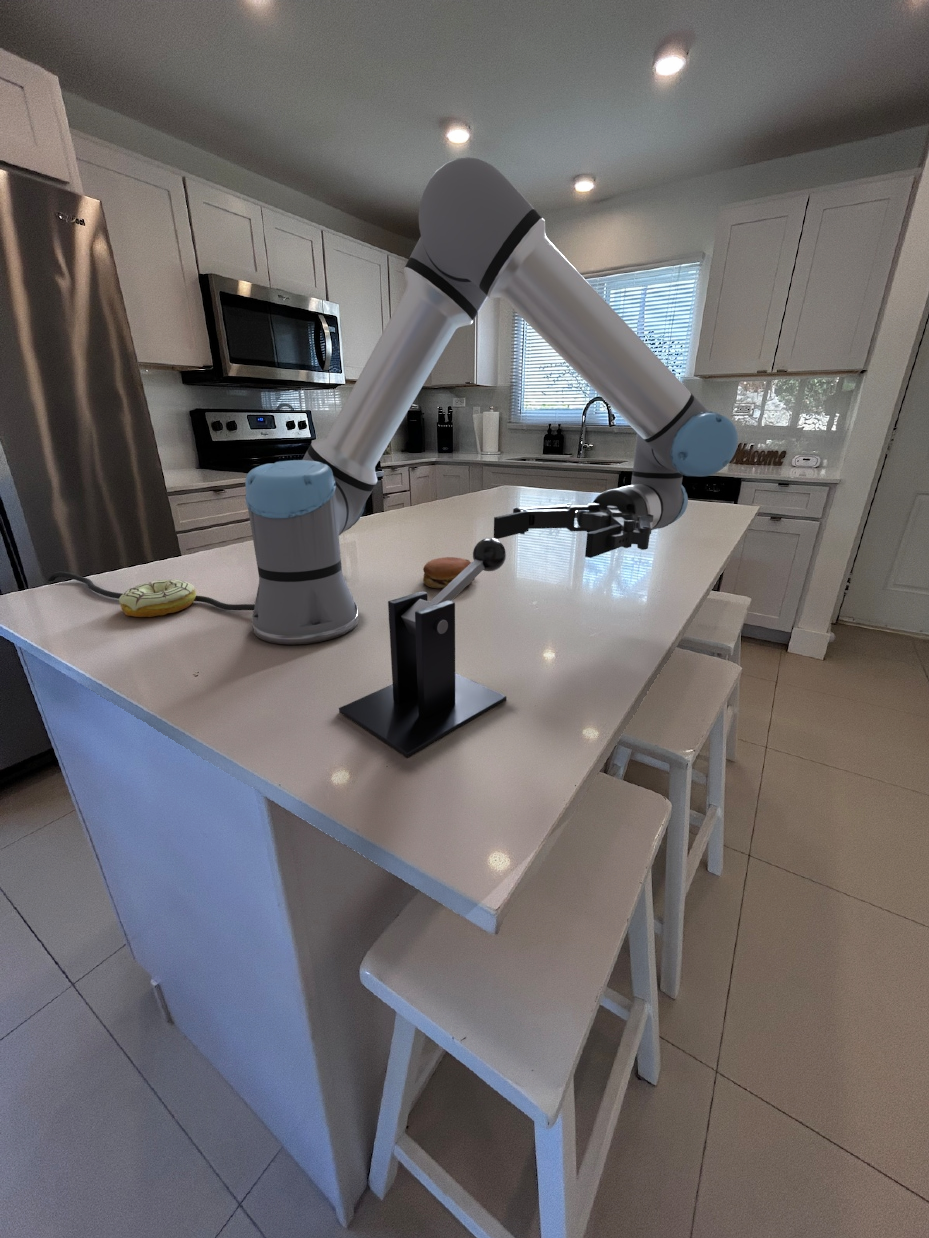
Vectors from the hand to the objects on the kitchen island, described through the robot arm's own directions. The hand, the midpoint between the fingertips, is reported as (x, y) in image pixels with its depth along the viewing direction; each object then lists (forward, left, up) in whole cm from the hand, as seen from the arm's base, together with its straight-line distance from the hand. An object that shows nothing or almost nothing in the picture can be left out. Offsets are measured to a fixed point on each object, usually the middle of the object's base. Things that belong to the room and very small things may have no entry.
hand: (538, 536), depth 61 cm
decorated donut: (-62, 0, -16) cm, 64 cm away
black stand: (-9, -17, -16) cm, 25 cm away
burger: (-21, +27, -16) cm, 38 cm away
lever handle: (-6, -12, -5) cm, 14 cm away
